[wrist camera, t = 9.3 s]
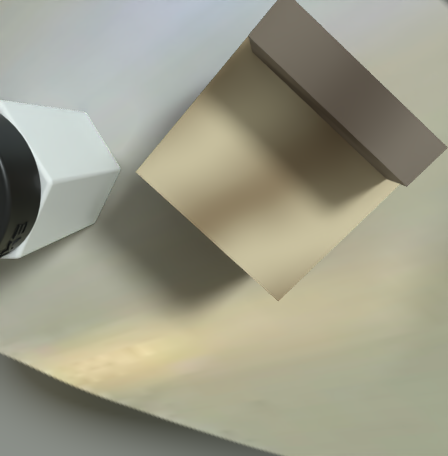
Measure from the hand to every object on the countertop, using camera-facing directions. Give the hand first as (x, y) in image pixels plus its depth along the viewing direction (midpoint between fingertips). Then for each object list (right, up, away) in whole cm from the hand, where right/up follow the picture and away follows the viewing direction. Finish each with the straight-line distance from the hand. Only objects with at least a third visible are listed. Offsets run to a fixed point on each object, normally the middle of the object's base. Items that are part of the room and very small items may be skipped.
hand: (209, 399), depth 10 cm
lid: (+3, +7, +11) cm, 13 cm away
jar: (-11, +8, +20) cm, 24 cm away
